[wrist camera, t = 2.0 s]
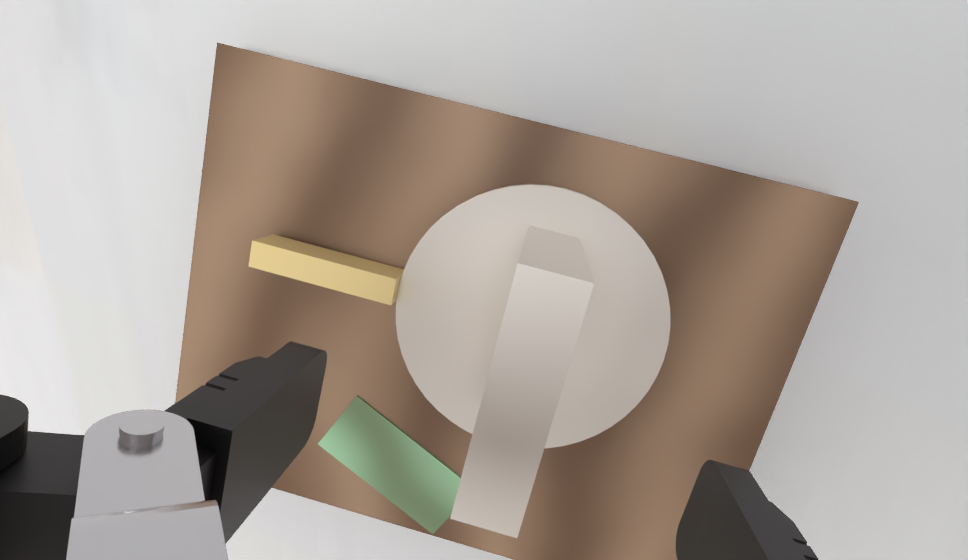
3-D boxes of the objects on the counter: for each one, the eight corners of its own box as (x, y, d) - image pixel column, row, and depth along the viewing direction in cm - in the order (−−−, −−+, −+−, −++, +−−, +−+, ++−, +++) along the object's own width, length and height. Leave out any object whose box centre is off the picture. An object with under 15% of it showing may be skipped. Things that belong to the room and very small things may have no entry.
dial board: (831, 197, 22) (860, 202, 19) (680, 577, 26) (691, 613, 24) (245, 52, 23) (215, 42, 21) (196, 435, 27) (167, 457, 25)
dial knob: (702, 223, 20) (798, 267, 12) (619, 465, 22) (655, 631, 15) (290, 118, 21) (136, 97, 13) (253, 361, 23) (104, 465, 15)
